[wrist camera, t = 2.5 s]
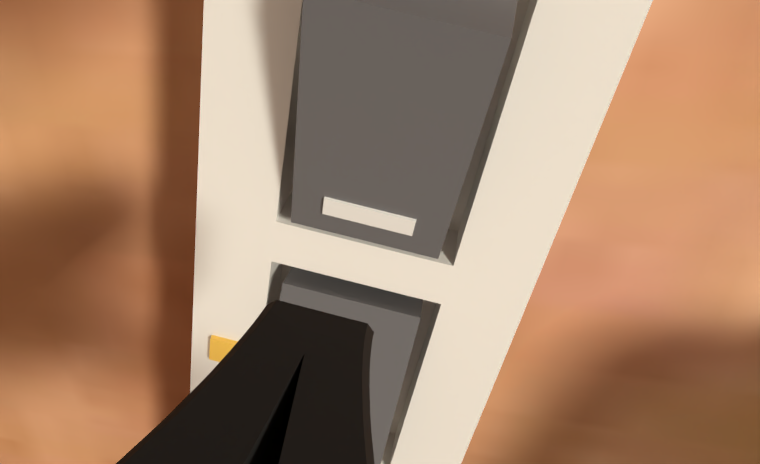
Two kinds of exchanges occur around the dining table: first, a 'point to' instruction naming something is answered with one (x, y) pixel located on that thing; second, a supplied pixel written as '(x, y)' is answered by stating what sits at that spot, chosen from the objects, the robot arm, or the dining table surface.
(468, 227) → the power strip
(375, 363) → the rocker middle
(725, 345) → the dining table surface
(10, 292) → the dining table surface
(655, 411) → the dining table surface
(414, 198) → the plate
